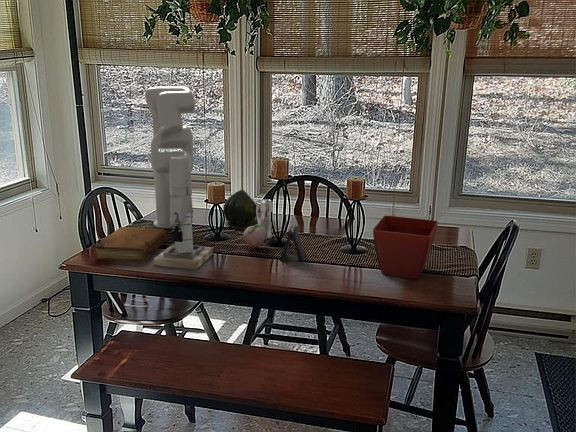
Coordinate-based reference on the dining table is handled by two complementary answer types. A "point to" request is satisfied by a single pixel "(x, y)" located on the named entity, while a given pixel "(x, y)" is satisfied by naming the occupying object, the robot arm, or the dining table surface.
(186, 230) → the syrup box
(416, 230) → the plant pot
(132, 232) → the diary
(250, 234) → the decorative fruit
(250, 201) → the squash
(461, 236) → the dining table surface
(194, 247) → the base plate
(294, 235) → the phone stand
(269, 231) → the beer glass
